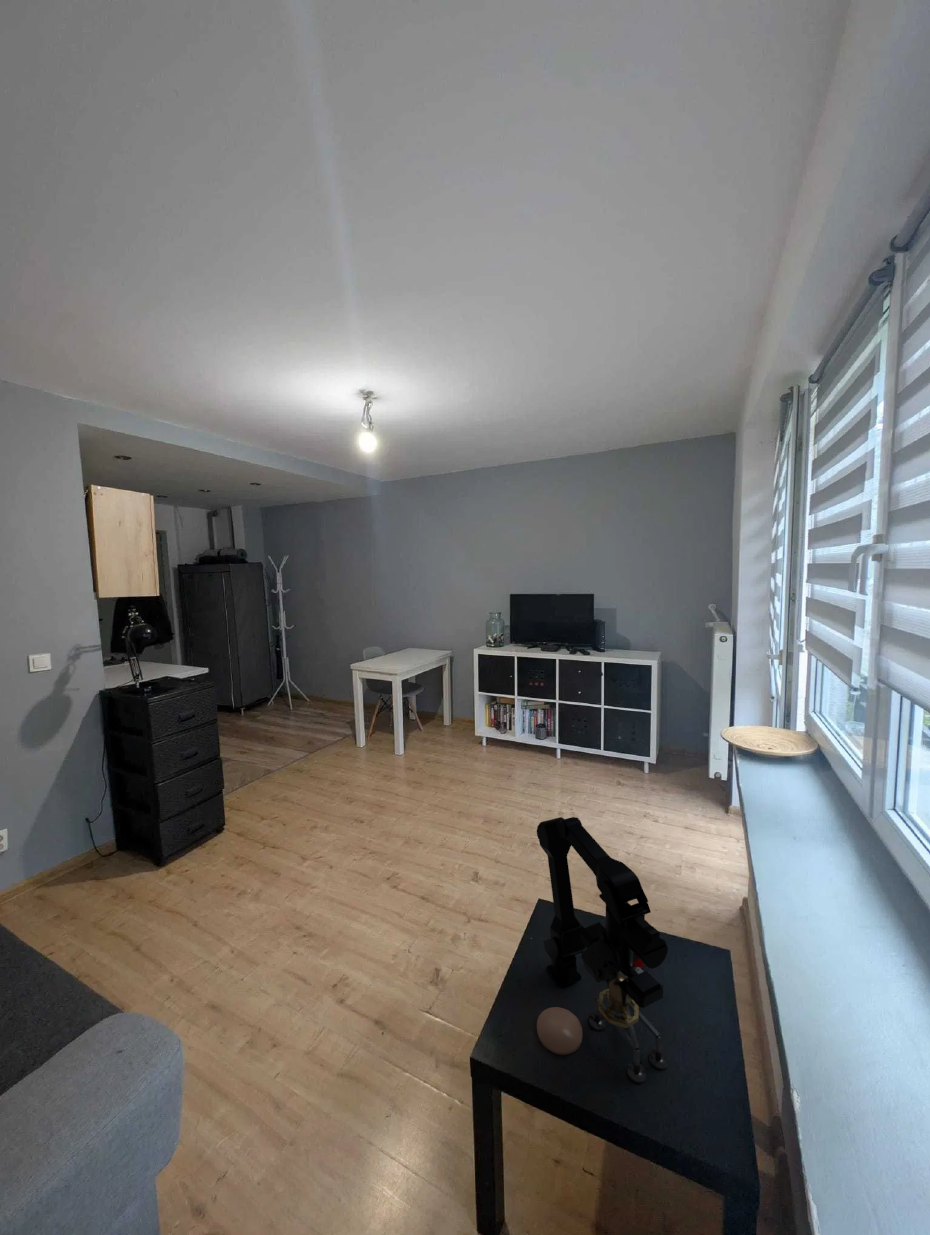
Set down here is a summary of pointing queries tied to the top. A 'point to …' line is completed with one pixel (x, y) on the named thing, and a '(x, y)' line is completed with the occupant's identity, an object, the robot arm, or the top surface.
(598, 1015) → the zigzag metal pull handle
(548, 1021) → the coaster
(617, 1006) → the octagonal handwheel knob
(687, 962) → the top surface
